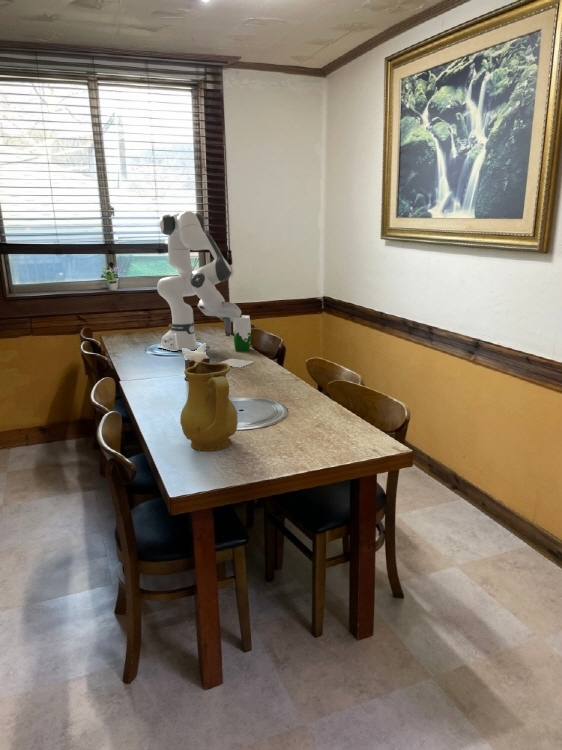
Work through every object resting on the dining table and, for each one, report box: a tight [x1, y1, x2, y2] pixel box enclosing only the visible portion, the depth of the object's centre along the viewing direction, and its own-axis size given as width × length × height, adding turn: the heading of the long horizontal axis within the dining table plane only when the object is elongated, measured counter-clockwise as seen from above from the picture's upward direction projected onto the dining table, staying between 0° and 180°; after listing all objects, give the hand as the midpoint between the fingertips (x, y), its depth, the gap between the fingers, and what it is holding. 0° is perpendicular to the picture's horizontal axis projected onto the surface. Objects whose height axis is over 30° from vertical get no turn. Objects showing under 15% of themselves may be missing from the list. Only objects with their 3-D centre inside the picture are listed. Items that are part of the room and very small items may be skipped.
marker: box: [223, 317, 232, 337], centre depth 252 cm, size 3×3×14 cm
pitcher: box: [179, 361, 238, 452], centre depth 158 cm, size 17×19×25 cm
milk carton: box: [232, 314, 252, 352], centre depth 280 cm, size 9×9×20 cm
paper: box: [219, 358, 255, 369], centre depth 255 cm, size 14×12×1 cm
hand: (228, 320), depth 252 cm, fingers closed on marker, 3 cm apart
